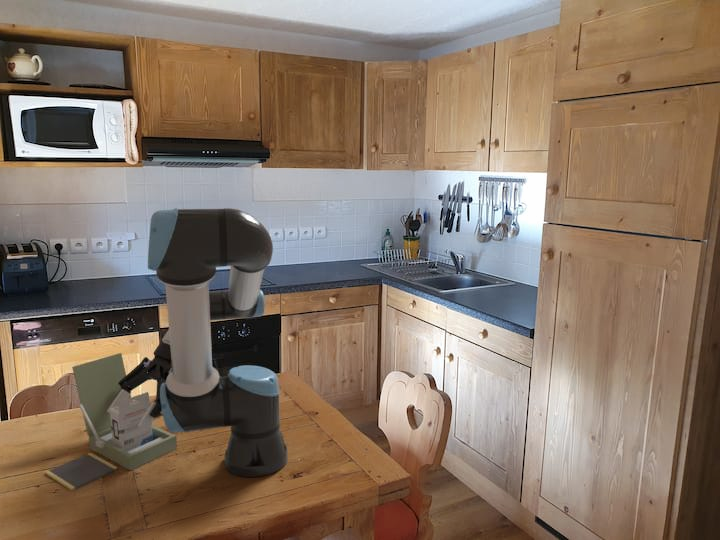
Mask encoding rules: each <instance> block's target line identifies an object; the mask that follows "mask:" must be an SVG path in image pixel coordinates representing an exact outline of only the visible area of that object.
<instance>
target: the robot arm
mask: <svg viewBox="0 0 720 540" xmlns="http://www.w3.org/2000/svg"><path fill="white" fill-rule="evenodd" d="M147 249H148V251H147V269H148V270H150V271H153V272H154V271H155V274H156V278H157V280H158V281H159V282H161V283H162V284H164V285H165V295H166V306H167V307H166V309H167V322H168V323H167V324H168V330H167V331H166V333H165V334H164V335H163V337H162V338H161V340H162V342H159V344H158V345H157V347H156V348H155V350H154V351H153V355H154V357H153V358H152V360H151V359H150V358H148V357H147V356H145V357H144V358H143V359H142V360H141V362H140V363H139V364H137V366H135V367H134V368H133V369H131V371H129V373H128V374H126V376H125V377H124V378H123V379H122V380H121V381H119V383H118V384H119V385H120V386H121V390H120V391H119V393H118V395H117V396H116V397H115V399H114V401H113V403H112V404H111V406H110V407H109V409H108V410H107V412H109V413H110V409H111V408H114V407H117V406H118V403H119V401H123V400H126V399H128V397H129V396H130V394H132V391H133V390H135V389H136V388H138V387H139V386H141V385H142V384H143V383H146V382H147V381H150V380H154V381H156V393H155V394H156V396H155V400H153V401H152V403H150V407H149V408H148V410H147V412H146V413H145V415H144V416H143V418H142V419H141V421H140V423H139V424H138V426H139V427H140V428H142V429H144V430H146V431H147V430H148V428H149V427H150V425H151V423H152V424H153V422H154V420H155V419H156V418H158V416H159V415H160V413H161V412H160V411H161V409H162V414H161V415H162V417H163V421H164V422H163V423H164V425H165V427H166V429H167V430H168V432H170V433H190V432H196V431H203V430H210V429H217V428H219V429H220V428H225V427H230V436H229V439H228V443H227V448H226V450H225V452H224V466H225V468H226V470H227V471H228V472H230V473H231V474H233V475H235V476H238V477H242V478H243V477H245V478H258V477H264V476H265V477H266V476H268V475H271V474H274V473H276V472H278V471H279V470H281V469H282V468H283V467H284V466H286V465H287V462H288V458H289V457H288V447H287V445H286V443H285V438H284V437H283V434H282V431H281V427H280V422H281V421H280V391H281V390H280V389H279V388H280V386H279V378H278V376H277V374H276V373H275V372H274V371H272V370H271V369H269V368H267V367H263V366H259V365H248V364H247V365H238V366H235V367H232V368H230V370H229V371H228V373H227V375H226V376H220V373H219V371H218V369H216V367H214V366H213V357H212V354H213V353H212V331H211V329H212V327H211V321H221V320H224V321H225V320H237V319H240V320H241V319H253V318H260V317H262V316H263V315H264V314H265V295H264V292H263V290H262V289H261V286H262V285H261V284H262V281H263V275H264V272H265V269H266V268H267V267H268V266H269V265H270V263H271V260H272V257H273V252H274V245H273V240H272V237H271V236H270V233H269V231H268V230H267V228H266V227H265V225H263V223H261V222H260V221H259V219H257V218H255V217H254V216H252V215H251V214H249V213H248V212H246V211H242V210H240V209H237V208H229V207H227V208H189V209H187V208H183V209H182V208H181V209H179V208H173V209H162V210H157V211H154V212H153V214H152V215H151V218H150V226H149V238H148V248H147ZM221 267H223V268H224V267H230V272H229V280H228V281H229V282H228V290H223V291H222V290H221V291H210V282H211V281H212V280H213V279H214V278H215V277H216V274H217V268H221ZM125 382H126V383H125ZM155 402H156V403H155Z"/></svg>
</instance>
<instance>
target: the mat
mask: <svg viewBox="0 0 720 540" xmlns="http://www.w3.org/2000/svg"><path fill="white" fill-rule="evenodd" d="M118 469H119V468H118V467H117V466H115V465H114V464H112V463H110V462H109V461H107V460H105V459H103V458H102V457H99V456H97V455H96V454H94V453H92V452H89V453H87V454H85V455H82V456H80V457H77V458H74V459H73V460H70V461H67V462H65V463H63V464H61V465H59V466H56V467H54V468H51V469H49V470H48V469H47V470H45V471H44V474H45V475H46V476H48V477H50V479H53V480H54V481H55V482H57V483H59V484H60V485H61V486H63V487H65V488H66V489H68V490H69V491H71V492H73V491H74V490H76V489H78V488H81V487H83V486H85V485H88V484H90V483H92V482H93V481H96V480H98V479H101V478H102V477H105V476H107V475H109V474H111V473H112V472H115V471H117V470H118Z"/></svg>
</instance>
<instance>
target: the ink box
mask: <svg viewBox="0 0 720 540" xmlns="http://www.w3.org/2000/svg"><path fill="white" fill-rule="evenodd" d="M150 402H151V401H150V392H148V391H146V392H143V393H140V394H138V395H135V396H131V398H128V399H126V400H123V401H119V403H118V406H117V407H114V408H111V409H110V419H111V429H112V439H113V445H115V446H117V447H119V448H121V449H122V450H124V451H126V452H128V451H131V450H133V449H135V448H137V447H139V446H142V445H144V444H146V443H148V442H151V441H153V433H152V425H153V422H152V423H151V425H150V427H149V428H148V430H147V431H146V430H144V429H142V428H140V427H139V426H138V424H139V423H140V421H141V419H142V418H143V416H144V415H145V413H146V412H147V410H148V408H149V407H150V405H151V403H150Z"/></svg>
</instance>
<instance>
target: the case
mask: <svg viewBox="0 0 720 540" xmlns="http://www.w3.org/2000/svg"><path fill="white" fill-rule="evenodd" d="M71 368H72V372H73V377H74V380H75V385H76V389H77V394H78V399H79V402H80V403H79V404H78V407H79V409H80V411H81V413H82V415H83V421H84V425H85V428H86V433H87V436H88V444H89V450H92V451H94V452H95V453H98V454H100V455H101V456H103V457H105V458H106V459H108V460H110V461H113V462H114V463H116V464H117V465H120V466H122V467H123V468H125V469H127V470H128V471H133V470H135V469H137V468H139V467H141V466H143V465H145V464H148V463H149V462H152V461H153V460H156V459H159V458H160V457H162V456H163V455H165V454H168V453H170V452H173V451H175V450H177V449H178V443H177V440H178V439H177V435H176V434H173V433H172V432H170V431H166V430H164V429H163V428H160V427H157V426H155V425H153V424H152V433H153V441H151V442H148V443H146V444H144V445H142V446H139V447H137V448H135V449H133V450H131V451H128V452H126V451H124V450H122V449H121V448H119V447H117V446H115V445H113V439H112V429H111V419H110V413H109V412H107V410H108V409H109V407H110V406H111V404H112V403H113V401H114V399H115V397H116V396H117V395H118V393H119V391H120V390H121V386H120V385H119V384H118V383H119V381H121V380H122V379H123V378H124V377H125V376H126V375H127V374H126V373H127V372H126V368H125V364H124V361H123V355H122V353H121V352H120V353H119V352H118V353H115V354H112V355H108V356H105V357H102V358H99V359H94V360H92V361H87V362H85V363H81V364H78V365H77V364H76V365H74V366H72V367H71ZM125 383H126V382H125ZM131 394H132V393H131ZM131 394H130V396H129V397H128V398H131V397H132V395H131Z"/></svg>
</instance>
